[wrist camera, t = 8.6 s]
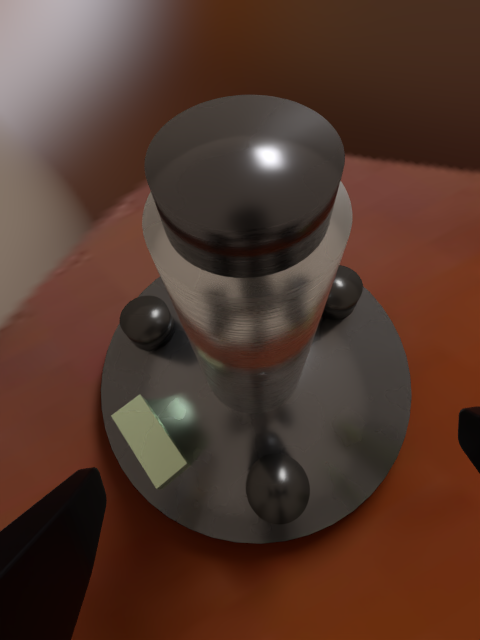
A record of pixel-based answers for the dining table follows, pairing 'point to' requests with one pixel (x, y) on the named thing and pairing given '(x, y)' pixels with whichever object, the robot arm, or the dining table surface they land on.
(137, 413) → the plate
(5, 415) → the dining table surface
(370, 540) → the dining table surface
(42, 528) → the robot arm
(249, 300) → the capped frosted bottle
